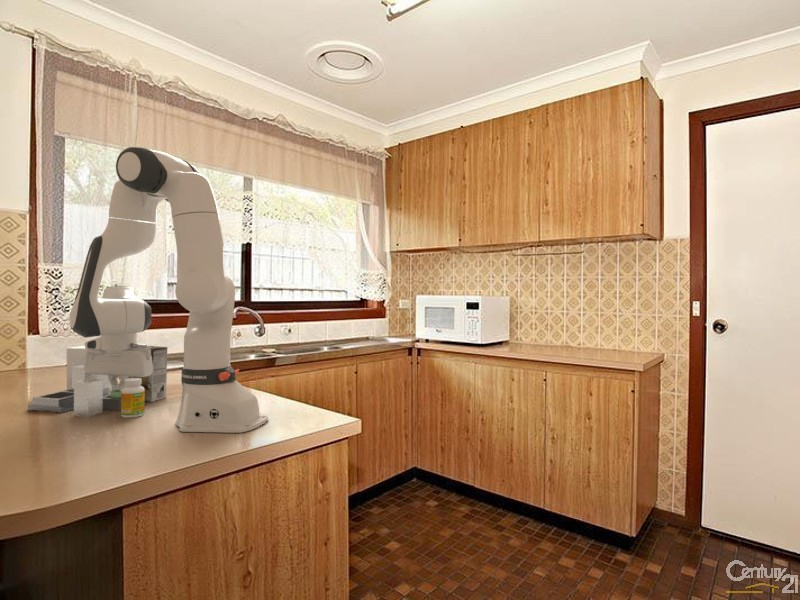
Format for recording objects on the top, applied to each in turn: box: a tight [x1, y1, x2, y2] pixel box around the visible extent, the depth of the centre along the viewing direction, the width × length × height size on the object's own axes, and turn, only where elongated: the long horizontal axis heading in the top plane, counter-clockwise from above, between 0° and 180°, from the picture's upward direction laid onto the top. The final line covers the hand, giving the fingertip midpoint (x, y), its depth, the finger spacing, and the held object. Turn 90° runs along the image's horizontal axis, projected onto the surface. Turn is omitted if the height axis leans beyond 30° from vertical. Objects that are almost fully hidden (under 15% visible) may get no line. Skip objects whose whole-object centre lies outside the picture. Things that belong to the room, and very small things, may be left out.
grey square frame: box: [103, 393, 121, 412], centre depth 131 cm, size 8×8×3 cm
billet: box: [73, 379, 104, 418], centre depth 122 cm, size 4×4×9 cm
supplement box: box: [66, 345, 112, 392], centre depth 147 cm, size 9×9×15 cm
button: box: [109, 390, 121, 398], centre depth 131 cm, size 4×4×3 cm
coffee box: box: [129, 345, 168, 403], centre depth 141 cm, size 9×6×16 cm
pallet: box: [27, 365, 110, 414], centre depth 132 cm, size 11×17×10 cm, turn 169°
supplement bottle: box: [120, 378, 145, 419], centre depth 122 cm, size 5×5×10 cm
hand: (118, 390), depth 131 cm, fingers closed, pressing on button
